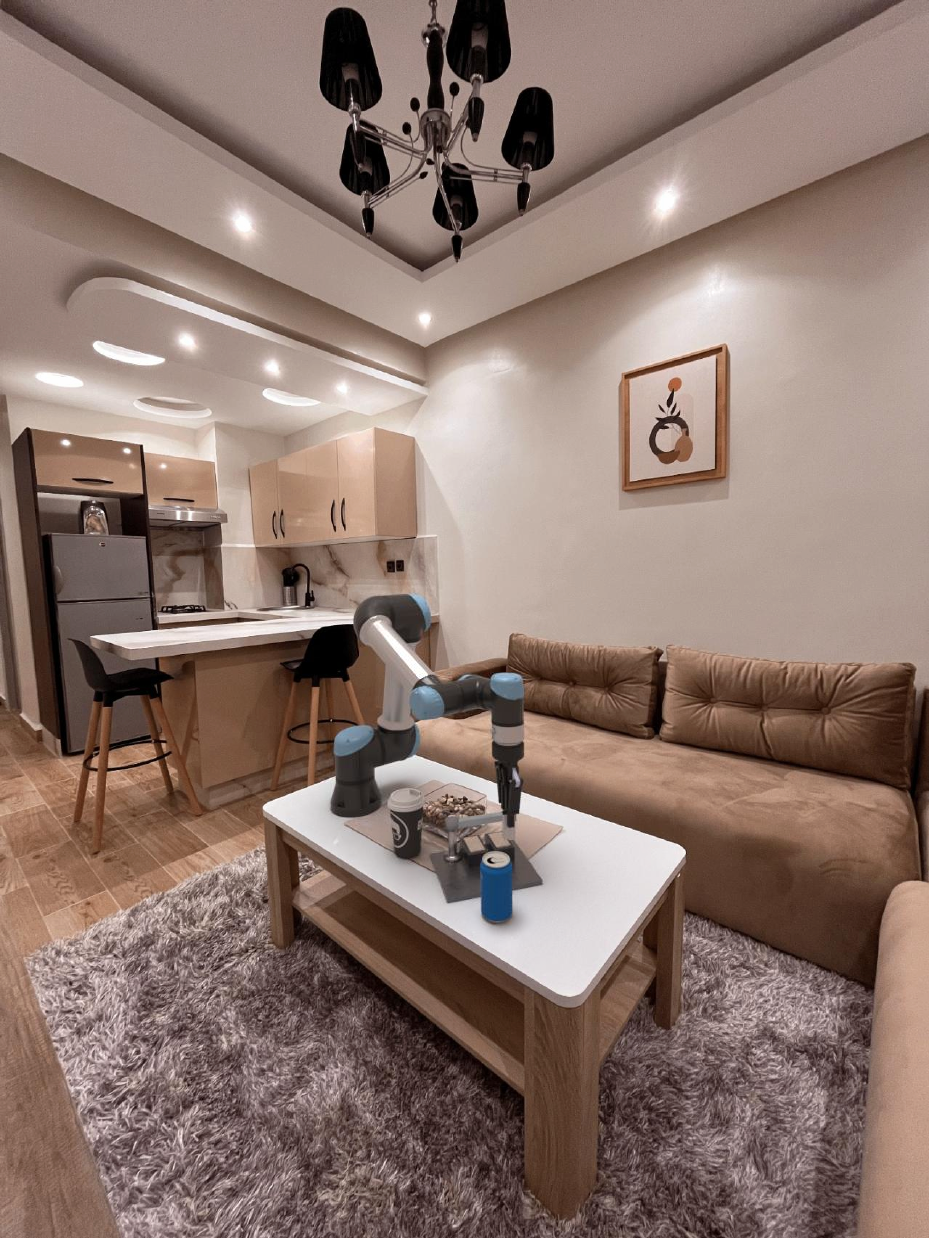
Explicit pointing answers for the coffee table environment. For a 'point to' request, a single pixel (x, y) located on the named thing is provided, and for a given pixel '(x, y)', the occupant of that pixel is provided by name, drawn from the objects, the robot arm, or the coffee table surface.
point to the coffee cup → (406, 821)
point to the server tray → (478, 865)
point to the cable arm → (472, 820)
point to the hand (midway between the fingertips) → (508, 837)
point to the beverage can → (496, 886)
